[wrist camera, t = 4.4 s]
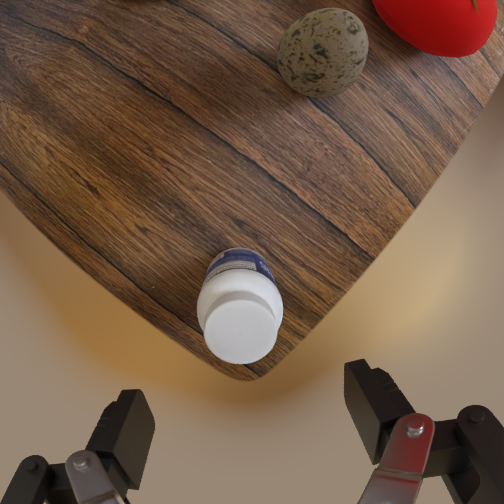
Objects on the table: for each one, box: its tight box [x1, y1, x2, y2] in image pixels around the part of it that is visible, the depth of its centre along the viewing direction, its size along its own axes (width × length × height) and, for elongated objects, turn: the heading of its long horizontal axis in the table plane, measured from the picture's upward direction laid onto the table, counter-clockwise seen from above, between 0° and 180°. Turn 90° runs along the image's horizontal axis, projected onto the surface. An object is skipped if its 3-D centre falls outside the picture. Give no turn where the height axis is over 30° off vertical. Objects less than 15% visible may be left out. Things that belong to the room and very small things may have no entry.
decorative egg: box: [277, 8, 369, 98], centre depth 17 cm, size 6×6×10 cm
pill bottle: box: [197, 248, 283, 364], centre depth 21 cm, size 5×5×10 cm
